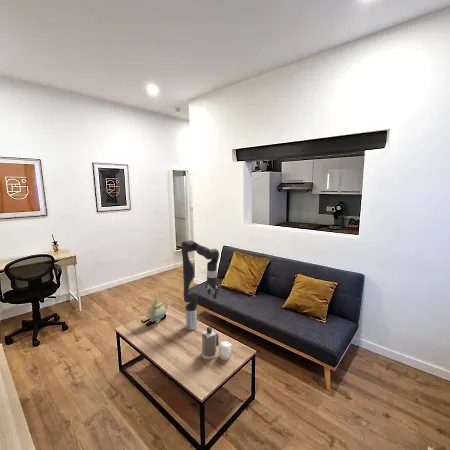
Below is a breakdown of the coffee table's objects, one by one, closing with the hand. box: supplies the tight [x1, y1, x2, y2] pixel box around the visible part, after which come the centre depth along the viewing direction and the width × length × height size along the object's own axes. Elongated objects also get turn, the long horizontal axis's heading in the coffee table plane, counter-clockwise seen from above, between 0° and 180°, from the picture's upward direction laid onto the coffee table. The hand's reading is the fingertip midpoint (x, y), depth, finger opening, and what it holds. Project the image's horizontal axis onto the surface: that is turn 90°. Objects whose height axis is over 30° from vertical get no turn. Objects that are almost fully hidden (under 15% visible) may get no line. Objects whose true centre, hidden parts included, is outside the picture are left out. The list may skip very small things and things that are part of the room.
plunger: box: [206, 327, 213, 334], centre depth 178 cm, size 4×4×17 cm
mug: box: [218, 340, 233, 361], centre depth 178 cm, size 8×10×9 cm
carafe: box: [201, 329, 220, 360], centre depth 179 cm, size 11×13×16 cm
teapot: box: [144, 290, 169, 324], centre depth 218 cm, size 24×12×30 cm, turn 144°
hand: (211, 296), depth 187 cm, fingers open, 8 cm apart
